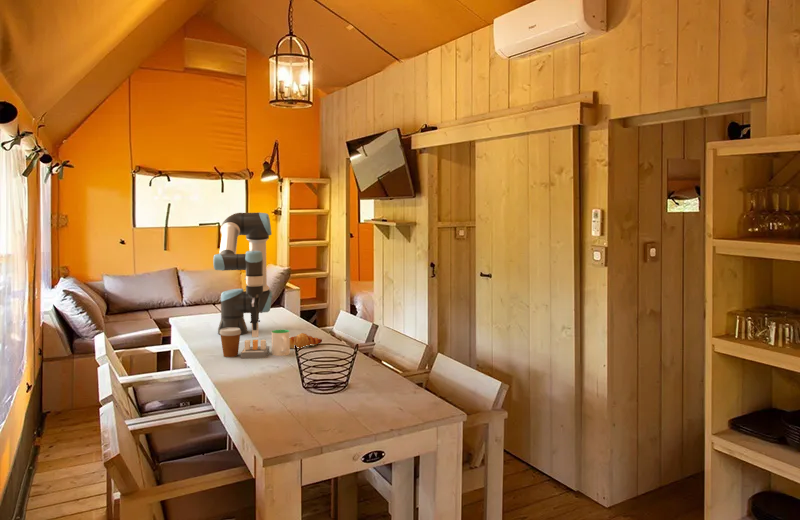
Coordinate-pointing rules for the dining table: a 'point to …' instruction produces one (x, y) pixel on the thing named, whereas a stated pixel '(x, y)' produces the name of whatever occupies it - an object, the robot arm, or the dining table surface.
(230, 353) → the disposable coffee cup
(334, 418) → the dining table surface
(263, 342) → the paddle
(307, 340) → the croissant
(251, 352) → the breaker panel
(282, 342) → the mug
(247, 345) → the paddle
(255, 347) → the paddle
